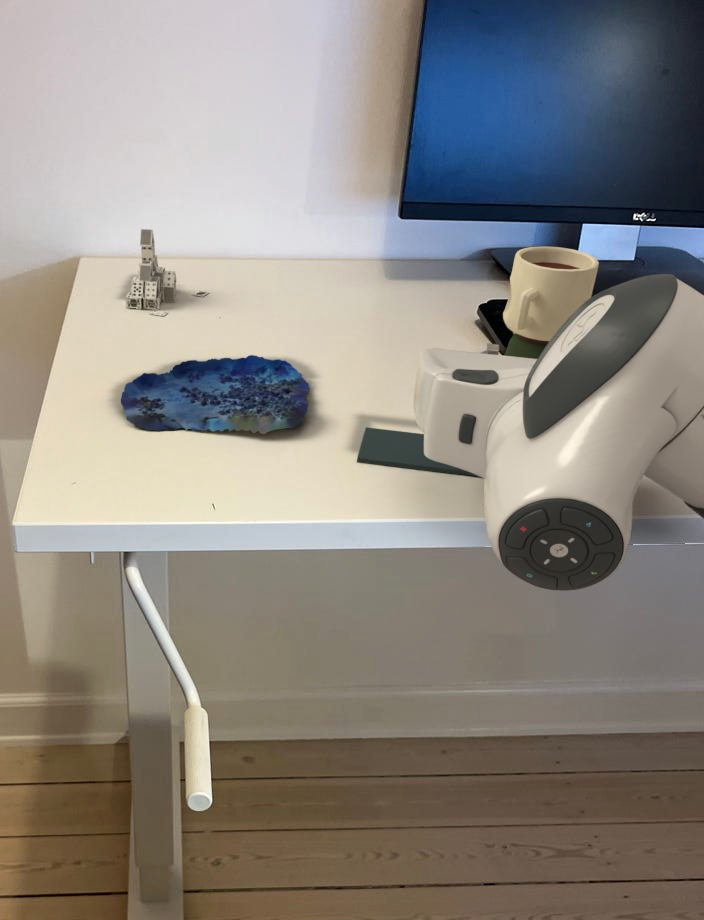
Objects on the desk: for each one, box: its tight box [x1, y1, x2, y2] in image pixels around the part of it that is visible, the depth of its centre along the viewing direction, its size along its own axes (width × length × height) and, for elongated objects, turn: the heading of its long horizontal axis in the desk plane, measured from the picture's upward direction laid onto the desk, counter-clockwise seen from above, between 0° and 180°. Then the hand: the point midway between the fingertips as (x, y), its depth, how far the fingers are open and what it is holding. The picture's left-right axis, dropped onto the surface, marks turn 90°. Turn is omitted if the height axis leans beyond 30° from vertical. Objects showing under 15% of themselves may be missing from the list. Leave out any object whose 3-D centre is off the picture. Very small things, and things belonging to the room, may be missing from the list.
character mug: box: [502, 245, 600, 359], centre depth 90 cm, size 11×7×13 cm, turn 140°
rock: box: [120, 354, 310, 435], centre depth 92 cm, size 15×17×2 cm
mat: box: [356, 426, 481, 478], centre depth 84 cm, size 14×6×1 cm, turn 77°
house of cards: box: [125, 228, 210, 317], centre depth 111 cm, size 9×9×8 cm
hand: (547, 358), depth 80 cm, fingers open, 8 cm apart
